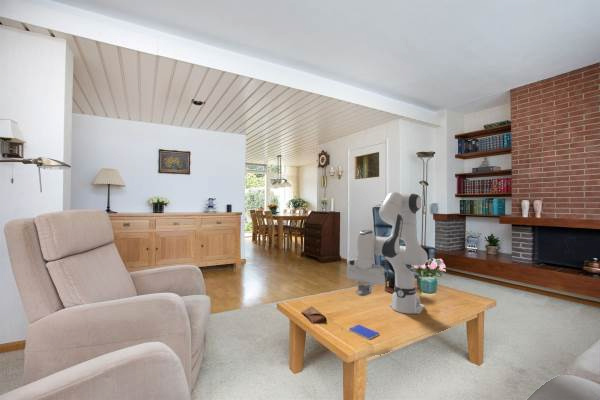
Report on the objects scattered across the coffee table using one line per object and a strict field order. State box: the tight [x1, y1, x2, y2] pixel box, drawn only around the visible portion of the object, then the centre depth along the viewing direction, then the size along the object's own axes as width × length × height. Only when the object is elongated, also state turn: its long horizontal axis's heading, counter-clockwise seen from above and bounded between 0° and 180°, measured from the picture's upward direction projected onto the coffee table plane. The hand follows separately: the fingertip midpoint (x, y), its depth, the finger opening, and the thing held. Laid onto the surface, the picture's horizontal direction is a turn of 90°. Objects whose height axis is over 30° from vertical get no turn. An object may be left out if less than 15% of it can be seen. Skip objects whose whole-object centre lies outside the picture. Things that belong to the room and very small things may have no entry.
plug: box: [354, 283, 373, 297], centre depth 142 cm, size 11×4×4 cm, turn 136°
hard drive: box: [348, 324, 380, 340], centre depth 143 cm, size 2×8×12 cm
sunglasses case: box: [301, 305, 328, 325], centre depth 161 cm, size 18×7×7 cm
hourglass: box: [384, 256, 408, 295], centre depth 213 cm, size 16×16×25 cm
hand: (365, 290), depth 143 cm, fingers closed on plug, 4 cm apart
